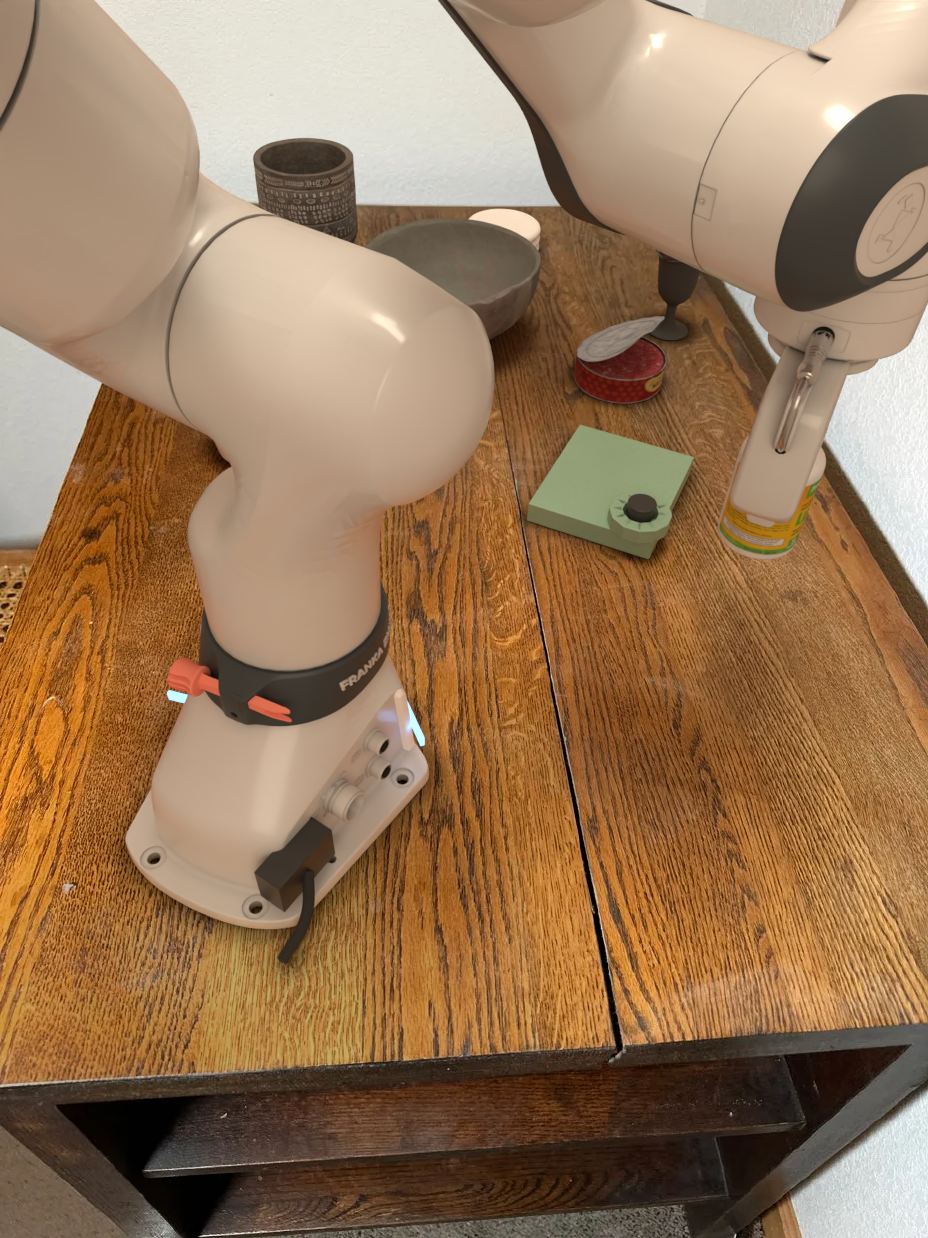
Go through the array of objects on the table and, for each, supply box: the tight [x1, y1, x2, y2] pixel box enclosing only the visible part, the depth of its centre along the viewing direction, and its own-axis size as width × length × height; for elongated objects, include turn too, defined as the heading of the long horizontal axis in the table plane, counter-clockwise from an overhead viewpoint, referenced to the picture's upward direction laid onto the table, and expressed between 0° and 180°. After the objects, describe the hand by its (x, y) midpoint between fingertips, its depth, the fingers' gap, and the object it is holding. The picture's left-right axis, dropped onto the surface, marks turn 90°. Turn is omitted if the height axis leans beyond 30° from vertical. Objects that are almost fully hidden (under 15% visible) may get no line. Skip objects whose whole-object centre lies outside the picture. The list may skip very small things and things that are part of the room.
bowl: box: [364, 217, 542, 341], centre depth 107 cm, size 20×20×10 cm
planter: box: [252, 137, 359, 244], centre depth 118 cm, size 12×12×13 cm
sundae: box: [649, 249, 702, 342], centre depth 107 cm, size 7×7×15 cm
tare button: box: [626, 494, 657, 523], centre depth 83 cm, size 3×3×1 cm
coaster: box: [468, 208, 541, 251], centre depth 124 cm, size 10×10×4 cm
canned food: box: [573, 315, 667, 405], centre depth 102 cm, size 11×10×10 cm
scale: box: [526, 424, 695, 560], centre depth 89 cm, size 15×13×4 cm
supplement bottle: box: [717, 427, 829, 561], centre depth 61 cm, size 5×5×10 cm
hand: (773, 488), depth 61 cm, fingers closed on supplement bottle, 5 cm apart
